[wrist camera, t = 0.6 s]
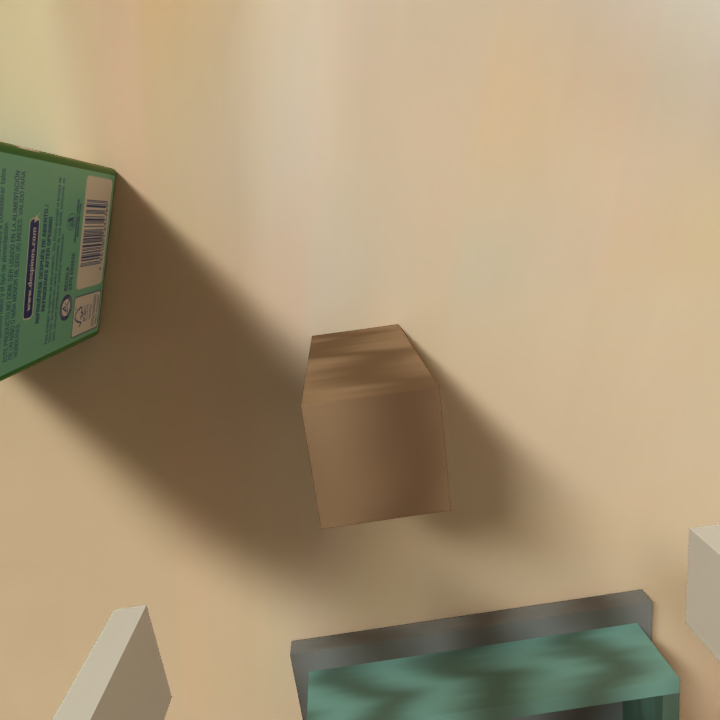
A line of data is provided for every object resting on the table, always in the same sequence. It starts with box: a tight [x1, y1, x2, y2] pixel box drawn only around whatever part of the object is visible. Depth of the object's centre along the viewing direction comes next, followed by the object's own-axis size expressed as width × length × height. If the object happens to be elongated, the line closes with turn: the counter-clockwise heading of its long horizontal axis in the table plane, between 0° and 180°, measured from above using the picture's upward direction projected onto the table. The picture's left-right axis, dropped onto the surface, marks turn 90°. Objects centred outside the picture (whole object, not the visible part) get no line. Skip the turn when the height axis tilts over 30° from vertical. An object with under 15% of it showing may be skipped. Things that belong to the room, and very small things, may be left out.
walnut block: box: [301, 324, 451, 529], centre depth 26 cm, size 5×5×12 cm
